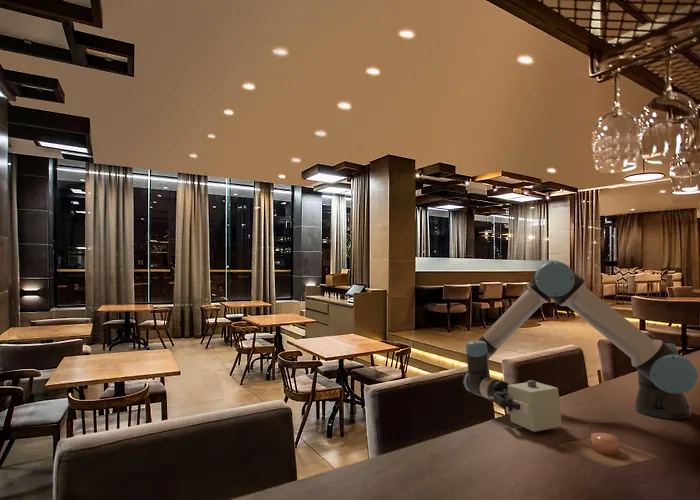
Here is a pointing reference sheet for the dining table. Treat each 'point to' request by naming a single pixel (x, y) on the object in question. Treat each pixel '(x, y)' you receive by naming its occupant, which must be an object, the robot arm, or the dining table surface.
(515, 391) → the knobbed cream cube
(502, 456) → the dining table surface
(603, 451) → the glossy tan dome
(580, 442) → the board
